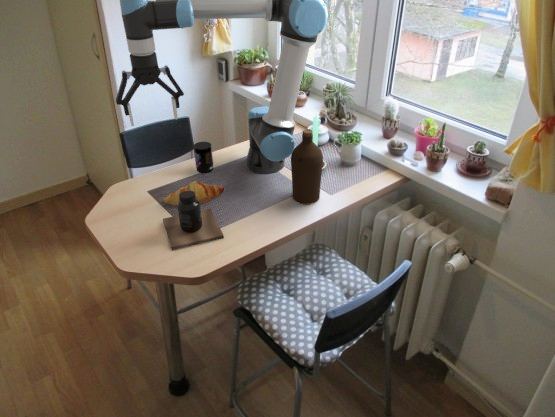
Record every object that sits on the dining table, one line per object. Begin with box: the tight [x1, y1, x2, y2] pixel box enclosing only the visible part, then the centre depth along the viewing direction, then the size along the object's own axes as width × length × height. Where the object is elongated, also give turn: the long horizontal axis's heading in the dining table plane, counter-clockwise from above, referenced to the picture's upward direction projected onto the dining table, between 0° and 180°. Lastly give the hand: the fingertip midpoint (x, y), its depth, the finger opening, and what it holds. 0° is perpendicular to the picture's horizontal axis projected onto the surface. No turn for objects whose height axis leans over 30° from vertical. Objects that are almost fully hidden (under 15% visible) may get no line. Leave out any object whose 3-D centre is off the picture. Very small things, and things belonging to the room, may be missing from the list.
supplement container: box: [192, 141, 215, 174], centre depth 174 cm, size 7×7×10 cm
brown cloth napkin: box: [162, 208, 225, 251], centre depth 144 cm, size 16×16×1 cm
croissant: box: [162, 180, 225, 207], centre depth 158 cm, size 21×10×8 cm, turn 108°
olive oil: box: [290, 128, 324, 205], centre depth 153 cm, size 11×11×25 cm
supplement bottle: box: [177, 191, 202, 233], centre depth 140 cm, size 7×7×12 cm
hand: (154, 121), depth 145 cm, fingers open, 13 cm apart
